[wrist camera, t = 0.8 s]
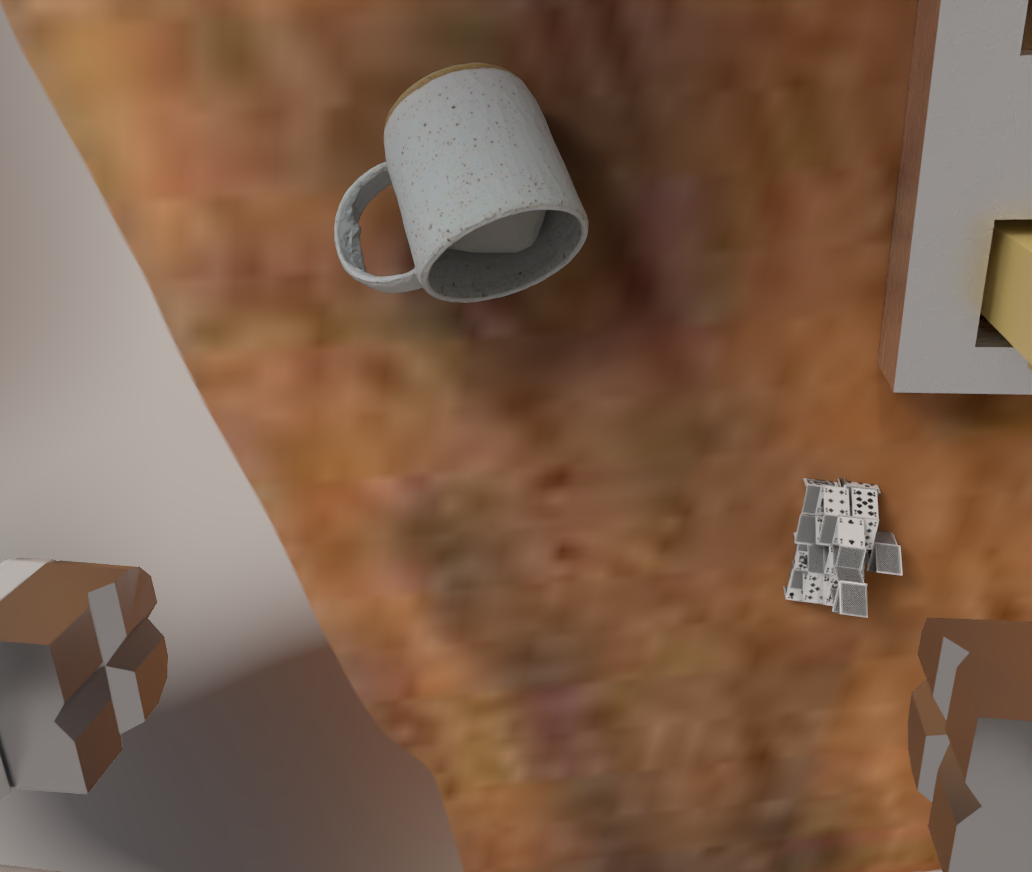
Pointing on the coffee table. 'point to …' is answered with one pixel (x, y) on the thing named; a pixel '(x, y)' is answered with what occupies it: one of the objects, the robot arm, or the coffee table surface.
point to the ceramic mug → (469, 189)
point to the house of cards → (840, 546)
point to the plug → (1010, 284)
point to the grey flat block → (958, 198)
